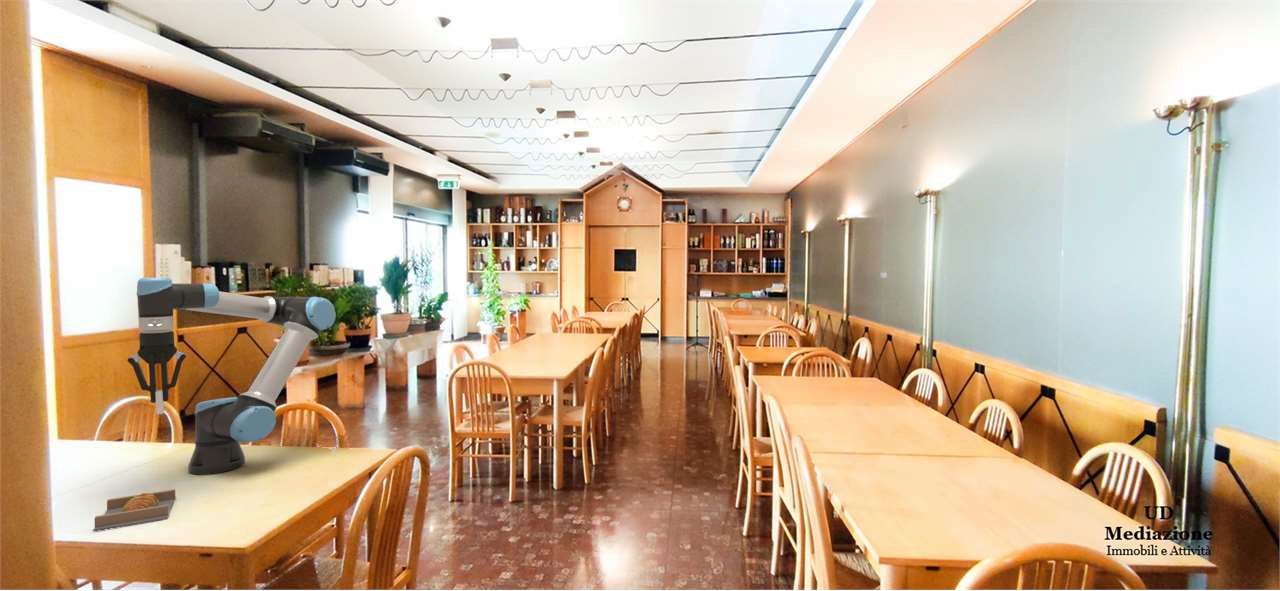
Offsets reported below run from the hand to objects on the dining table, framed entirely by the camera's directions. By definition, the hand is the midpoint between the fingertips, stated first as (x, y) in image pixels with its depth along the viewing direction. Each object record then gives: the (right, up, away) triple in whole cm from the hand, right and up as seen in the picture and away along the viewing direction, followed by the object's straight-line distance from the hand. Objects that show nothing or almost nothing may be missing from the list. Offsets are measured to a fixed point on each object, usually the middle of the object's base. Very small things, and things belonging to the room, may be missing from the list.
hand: (160, 412), depth 158 cm
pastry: (+4, -24, -11) cm, 27 cm away
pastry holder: (+4, -25, -11) cm, 27 cm away
